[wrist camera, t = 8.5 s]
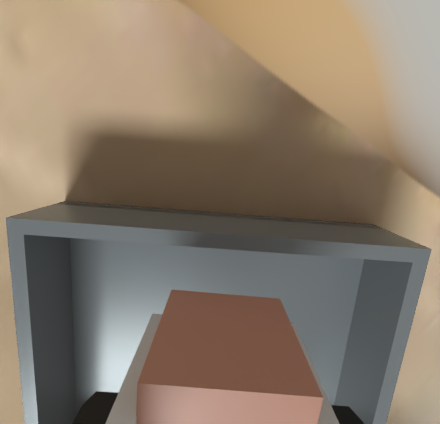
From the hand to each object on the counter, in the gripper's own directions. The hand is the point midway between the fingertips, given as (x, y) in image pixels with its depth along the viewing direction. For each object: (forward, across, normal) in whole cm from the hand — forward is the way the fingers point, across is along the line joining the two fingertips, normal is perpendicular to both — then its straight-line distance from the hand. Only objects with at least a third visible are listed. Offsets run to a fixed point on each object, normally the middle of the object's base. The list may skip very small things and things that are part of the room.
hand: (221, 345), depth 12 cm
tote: (+7, 0, +5) cm, 9 cm away
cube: (0, 0, 0) cm, 0 cm away
